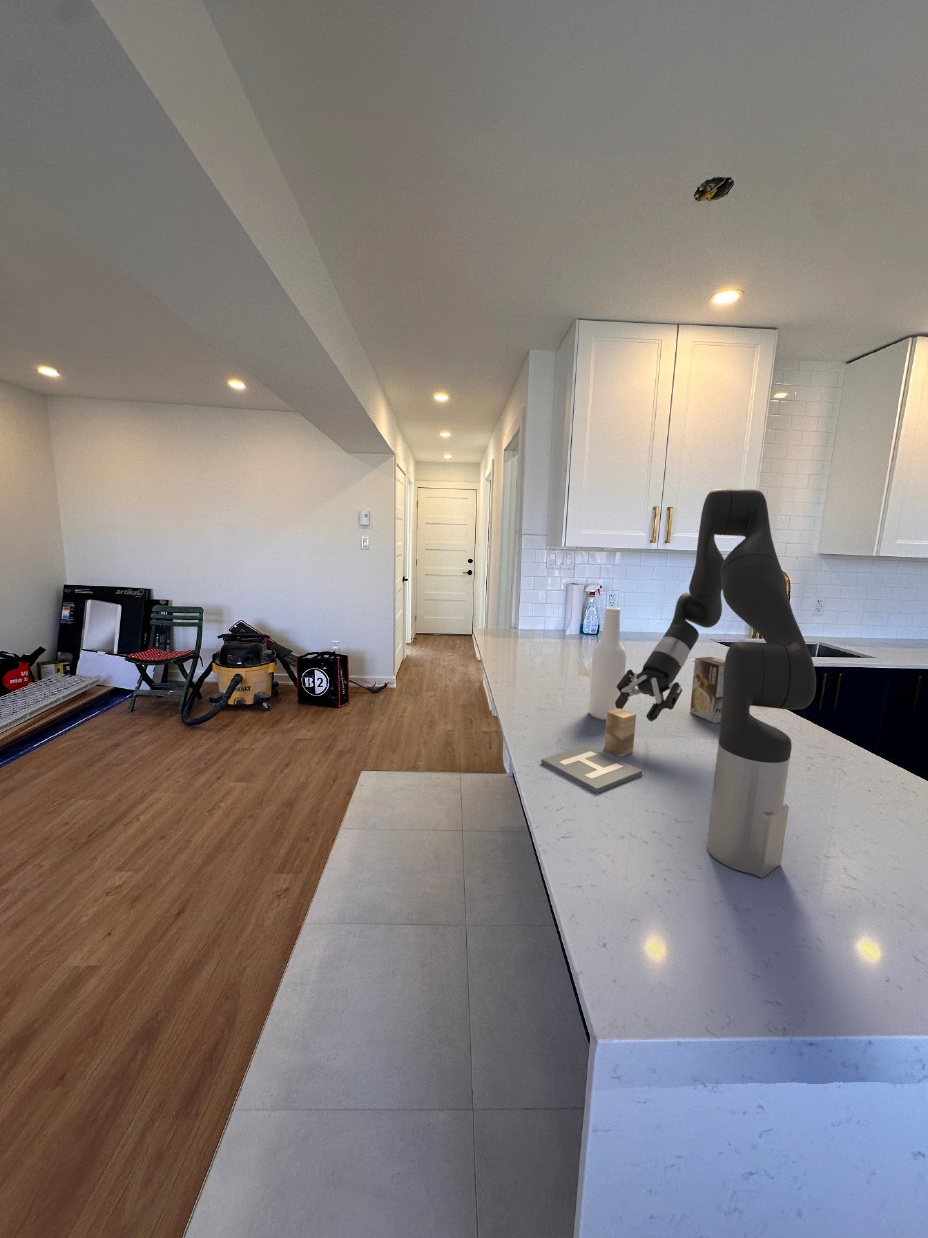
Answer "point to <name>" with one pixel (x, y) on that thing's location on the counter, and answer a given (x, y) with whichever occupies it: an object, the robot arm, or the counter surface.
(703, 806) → the counter surface
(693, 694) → the coffee box
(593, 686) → the alcohol
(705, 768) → the counter surface
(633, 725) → the oak block
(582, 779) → the letter board
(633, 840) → the counter surface
